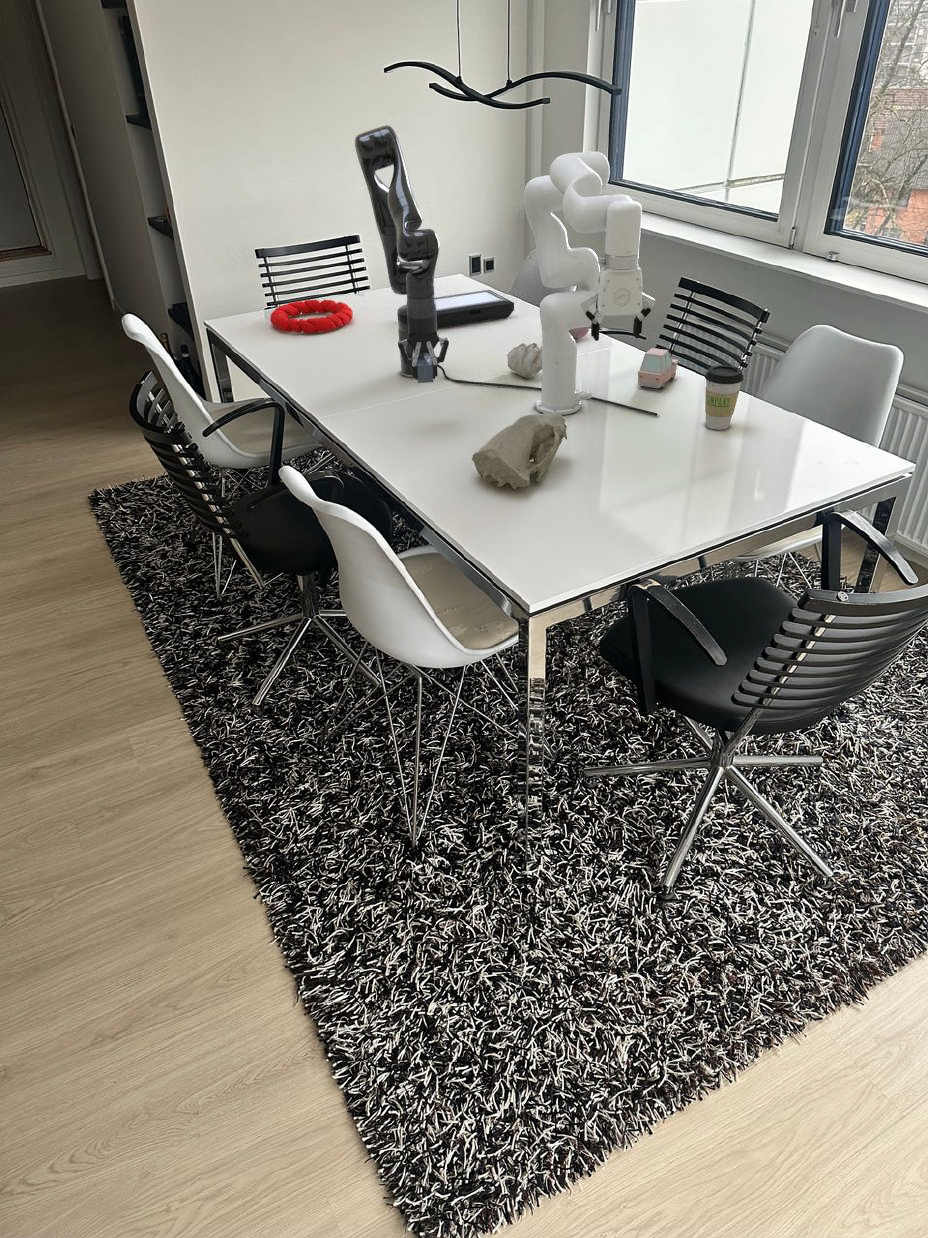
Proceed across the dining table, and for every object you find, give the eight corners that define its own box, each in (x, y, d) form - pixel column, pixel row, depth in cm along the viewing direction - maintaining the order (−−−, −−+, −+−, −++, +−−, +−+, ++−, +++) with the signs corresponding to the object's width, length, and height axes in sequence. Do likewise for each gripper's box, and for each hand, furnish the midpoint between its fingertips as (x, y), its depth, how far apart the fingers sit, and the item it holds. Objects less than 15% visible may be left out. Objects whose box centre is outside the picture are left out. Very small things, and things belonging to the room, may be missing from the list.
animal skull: (489, 499, 227) (452, 459, 211) (541, 418, 229) (509, 372, 213) (540, 522, 217) (505, 481, 201) (594, 437, 219) (564, 390, 203)
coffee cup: (691, 421, 242) (698, 367, 233) (722, 415, 245) (730, 362, 236) (712, 434, 234) (719, 379, 226) (743, 428, 237) (752, 373, 228)
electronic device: (433, 312, 313) (412, 299, 328) (434, 330, 317) (413, 316, 332) (514, 300, 323) (490, 287, 338) (514, 317, 327) (490, 304, 342)
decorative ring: (264, 303, 335) (273, 317, 310) (343, 294, 342) (358, 307, 317) (267, 323, 338) (277, 338, 313) (345, 314, 345) (360, 328, 320)
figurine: (575, 330, 312) (576, 295, 305) (594, 339, 304) (596, 302, 297) (554, 335, 308) (555, 299, 301) (572, 343, 300) (574, 307, 293)
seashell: (522, 385, 268) (523, 352, 263) (503, 370, 280) (503, 338, 274) (553, 380, 271) (554, 348, 266) (533, 365, 283) (533, 334, 277)
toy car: (680, 376, 271) (684, 343, 265) (662, 392, 260) (666, 358, 255) (651, 371, 275) (654, 339, 269) (632, 387, 264) (635, 354, 259)
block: (417, 377, 240) (416, 359, 238) (432, 376, 241) (431, 358, 238) (418, 383, 237) (417, 365, 234) (433, 382, 237) (432, 364, 234)
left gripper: (394, 319, 225) (399, 384, 235) (450, 315, 226) (453, 381, 236) (393, 310, 231) (398, 375, 241) (447, 307, 232) (450, 371, 242)
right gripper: (586, 267, 196) (583, 345, 206) (663, 263, 197) (656, 340, 207) (579, 259, 202) (576, 335, 212) (654, 255, 204) (647, 330, 213)
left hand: (425, 377), depth 238 cm, fingers closed on block, 4 cm apart
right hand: (615, 337), depth 210 cm, fingers open, 9 cm apart
